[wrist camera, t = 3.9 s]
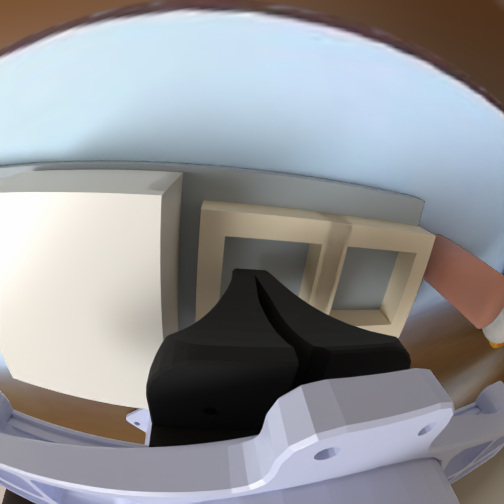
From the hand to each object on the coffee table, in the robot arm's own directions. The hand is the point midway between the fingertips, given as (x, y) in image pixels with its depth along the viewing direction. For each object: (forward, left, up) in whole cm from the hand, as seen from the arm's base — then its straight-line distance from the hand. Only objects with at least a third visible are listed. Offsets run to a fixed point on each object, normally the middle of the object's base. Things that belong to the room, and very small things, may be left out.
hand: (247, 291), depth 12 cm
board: (+3, +4, -3) cm, 6 cm away
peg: (-8, -9, -3) cm, 12 cm away
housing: (+5, +5, -2) cm, 7 cm away
